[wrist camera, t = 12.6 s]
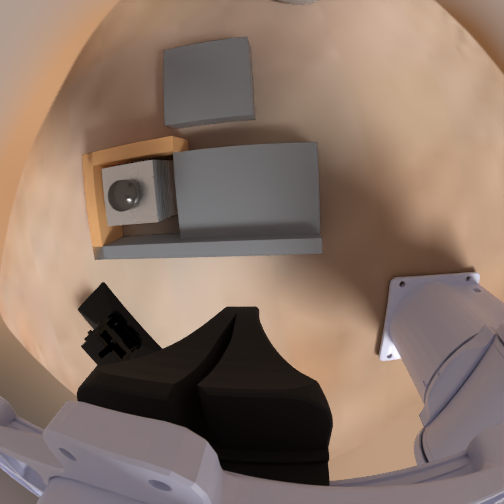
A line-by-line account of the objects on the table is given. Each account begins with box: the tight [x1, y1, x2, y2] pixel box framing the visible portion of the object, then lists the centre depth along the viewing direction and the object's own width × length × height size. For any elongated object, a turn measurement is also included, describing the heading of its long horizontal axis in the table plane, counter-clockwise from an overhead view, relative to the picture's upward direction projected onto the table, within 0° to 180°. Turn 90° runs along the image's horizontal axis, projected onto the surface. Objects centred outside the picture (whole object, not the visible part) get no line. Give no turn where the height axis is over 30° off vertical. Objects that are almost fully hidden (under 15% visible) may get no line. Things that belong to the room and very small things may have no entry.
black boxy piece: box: [78, 282, 162, 365], centre depth 24 cm, size 12×7×5 cm, turn 39°
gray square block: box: [164, 37, 255, 129], centre depth 18 cm, size 6×6×2 cm
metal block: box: [102, 160, 178, 226], centre depth 19 cm, size 4×4×5 cm
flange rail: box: [82, 136, 322, 260], centre depth 19 cm, size 16×8×3 cm, turn 93°
